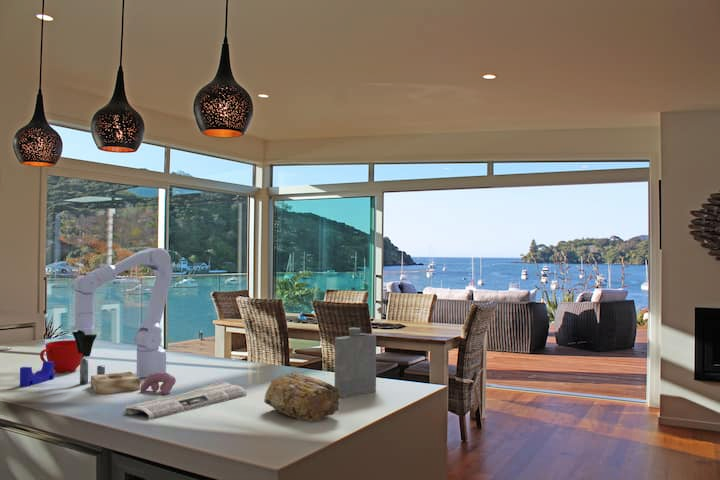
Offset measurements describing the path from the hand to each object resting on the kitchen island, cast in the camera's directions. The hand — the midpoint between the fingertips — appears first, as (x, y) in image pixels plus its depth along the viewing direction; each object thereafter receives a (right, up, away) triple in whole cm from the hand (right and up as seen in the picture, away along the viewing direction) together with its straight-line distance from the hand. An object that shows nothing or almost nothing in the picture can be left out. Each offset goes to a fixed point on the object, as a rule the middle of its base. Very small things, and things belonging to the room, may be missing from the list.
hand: (84, 354), depth 203 cm
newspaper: (+41, -10, -25) cm, 49 cm away
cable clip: (-17, -10, +2) cm, 19 cm away
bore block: (+13, -9, -6) cm, 17 cm away
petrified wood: (+74, -9, -37) cm, 84 cm away
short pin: (+3, -10, +6) cm, 12 cm away
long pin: (0, -9, 0) cm, 9 cm away
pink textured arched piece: (+28, -10, -11) cm, 31 cm away
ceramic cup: (-17, -10, +20) cm, 28 cm away
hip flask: (+88, -10, -12) cm, 89 cm away
